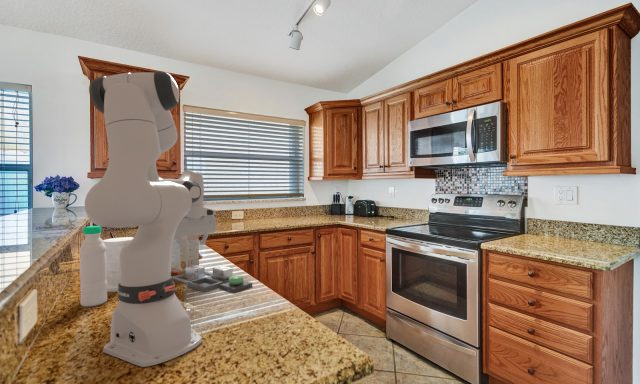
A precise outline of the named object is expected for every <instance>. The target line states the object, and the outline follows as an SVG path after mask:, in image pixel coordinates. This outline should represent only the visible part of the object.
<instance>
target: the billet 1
mask: <svg viewBox="0 0 640 384" xmlns="http://www.w3.org/2000/svg"><path fill="white" fill-rule="evenodd" d="M205 269H206V268H205V266H202V265H199V266H198V265H191V266H186V276H185V278H187V279H190V280H191V281H192V280H196V279H200V278H204V277H206V276H205V275H206V274H205V271H206V270H205Z"/></svg>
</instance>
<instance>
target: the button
mask: <svg viewBox="0 0 640 384" xmlns="http://www.w3.org/2000/svg"><path fill="white" fill-rule="evenodd" d="M243 281H244V276H243V275H233V276H231V277H229V284H232V285H238V284H241V283H243Z"/></svg>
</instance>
